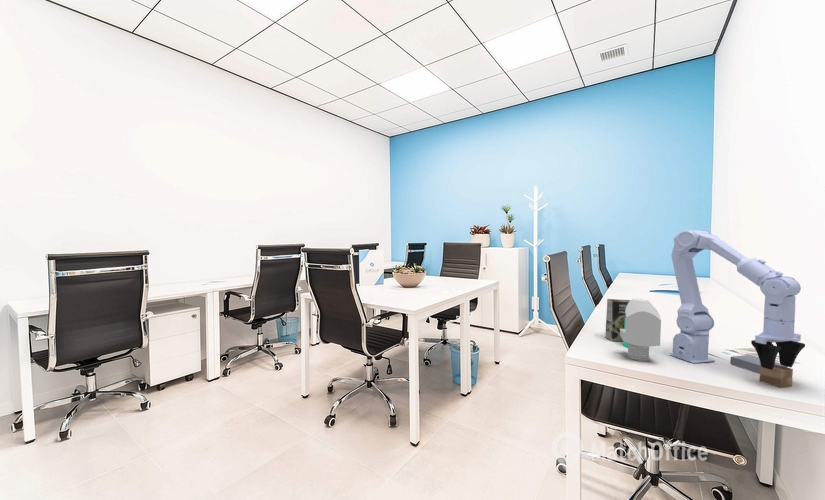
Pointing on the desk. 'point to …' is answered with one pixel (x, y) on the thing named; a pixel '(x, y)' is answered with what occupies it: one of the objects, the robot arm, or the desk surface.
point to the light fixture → (641, 328)
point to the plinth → (748, 362)
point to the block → (777, 376)
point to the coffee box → (615, 318)
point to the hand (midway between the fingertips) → (776, 367)
